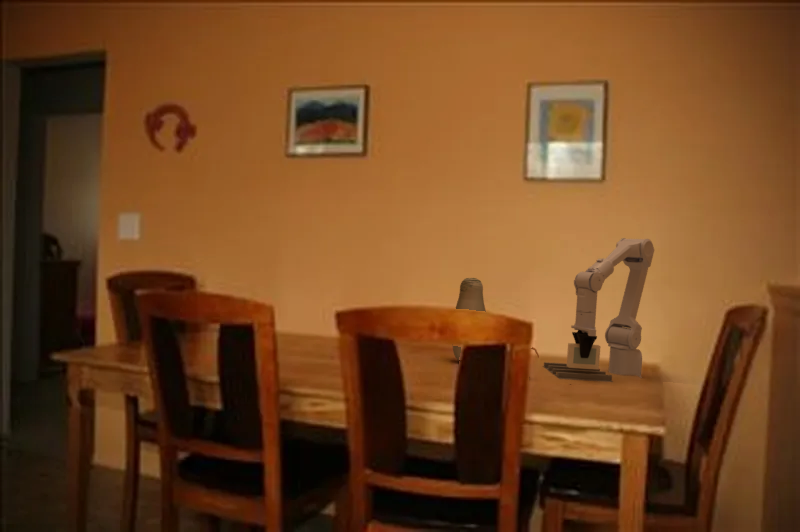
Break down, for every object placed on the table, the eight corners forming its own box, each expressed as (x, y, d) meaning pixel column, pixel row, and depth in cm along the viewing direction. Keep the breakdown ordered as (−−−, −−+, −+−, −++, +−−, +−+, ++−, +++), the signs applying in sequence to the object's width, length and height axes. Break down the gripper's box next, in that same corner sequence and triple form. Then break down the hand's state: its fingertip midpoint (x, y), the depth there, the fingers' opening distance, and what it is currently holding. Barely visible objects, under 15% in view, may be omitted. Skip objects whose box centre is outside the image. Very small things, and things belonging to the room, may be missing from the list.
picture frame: (596, 367, 190) (597, 344, 190) (598, 369, 187) (600, 346, 187) (566, 366, 190) (568, 343, 189) (568, 367, 187) (570, 344, 187)
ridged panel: (591, 371, 204) (591, 364, 204) (613, 385, 184) (613, 376, 184) (542, 369, 204) (542, 361, 203) (559, 382, 184) (559, 373, 183)
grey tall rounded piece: (463, 358, 214) (468, 276, 213) (488, 363, 207) (493, 279, 207) (445, 361, 207) (450, 276, 206) (471, 366, 200) (476, 279, 199)
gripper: (565, 308, 195) (562, 352, 195) (580, 313, 181) (576, 360, 181) (588, 310, 195) (585, 353, 196) (604, 315, 181) (601, 361, 181)
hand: (582, 356), depth 188 cm, fingers closed on picture frame, 2 cm apart
